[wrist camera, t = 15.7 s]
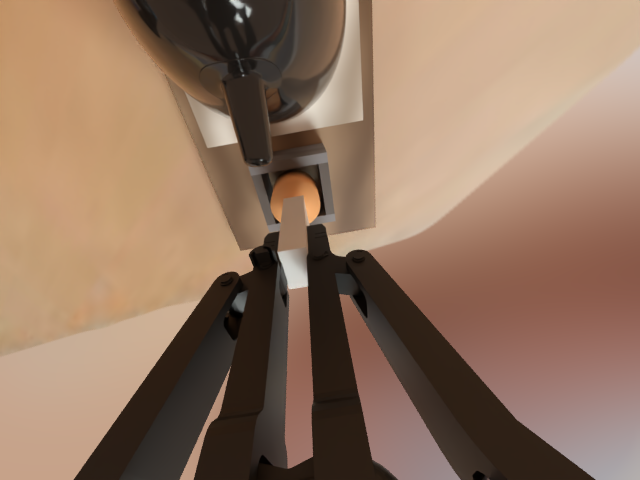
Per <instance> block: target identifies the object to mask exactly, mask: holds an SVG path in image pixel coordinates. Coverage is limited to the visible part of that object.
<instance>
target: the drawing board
mask: <svg viewBox="0 0 640 480" xmlns="http://www.w3.org/2000/svg"><path fill="white" fill-rule="evenodd" d="M165 75H166V74H165ZM166 78H167V80H168V82H169V85H170V87H171V89H172V92H173V94H174V96H175V99H176V101H177V103H178V106H179V108H180V110H181V113H182V115H183V117H184V120H185V122H186V124H187V127H188V129H189V131H190V134H191V136H192V138H193V141H194V143H195V145H196V148H197V150H198V152H199V155H200V157H201V159H202V162H203V164H204V166H205V169H206V171H207V173H208V176H209V178H210V180H211V183H212V185H213V187H214V190H215V192H216V194H217V197H218V199H219V201H220V204H221V206H222V208H223V211H224V213H225V215H226V218H227V220H228V222H229V225H230V227H231V229H232V232H233V234H234V236H235V239H236V241H237V243H238V246H239V248H240V250H247V249H253V248H256V247H259V246H262V245H263V244H264V238H265V237H266V236H267V234H268V233H272V232H278V231H280V225H281V223H280V222H279V221H278V220H277V219H276V218H275V217H274V215H273V213H272V211H271V206H270V203H271V197H272V192H273V187H274V183H275V181H276V179H277V178H278V177H279V176H280V175H281V174H282V173H284V172H286V171H289V170H301V171H304V172H306V173H308V174H309V175H310V176H311V177H312V178H313V179H314V181H315V182H316V185H317V189H318V194H319V199H320V211H319V214H318V215H317V217H316V218H315V219H314V221H312V222H311V223H310V224H309V225H316V224H323V225H324V226H325V227H326V232H327V236H328V235H334V234H340V233H345V232H351V231H357V230H363V229H368V228H374V227H376V218H375V157H374V96H373V35H372V0H346V27H345V36H344V42H343V47H342V52H341V56H340V59H339V62H338V65H337V68H336V71H335V73H334V75H333V78H332V80H331V82H330V83H329V85H328V87H327V88H326V90H325V91H324V93H323V94H322V96H321V97H320V98H319V99H318V100H317V101H316V103H315V104H314V105H312V106H311V107H310V108H309V109H308V110H307V111H305V112H304V113H302V114H301V115H299V116H297V117H295V118H293V119H291V120H289V121H286V122H282V123H278V124H272V125H270V132H271V141H272V150H273V160H272V162H271V163H270V164H269V165H267V166H263V167H249V166H247V165H246V164H245V163H244V162H243V159H242V155H241V152H240V148H239V145H238V142H237V138H236V135H235V131H234V128H233V124H232V121H231V119H228V118H226V117H223V116H221V115H219V114H217V113H215V112H213V111H212V110H210V109H208V108H206V107H205V106H203V105H202V104H200V103H199V102H197V101H196V100H195V99H193V98H192V97H191V96H190V95H188V94H187V93H186V92H185V91H184V90H182V89H181V88H180V87H179V86H178V85H177V84H176V83H175V82H173V81H172V80H171V79H170V78H169V77H168V76H167V75H166Z"/></svg>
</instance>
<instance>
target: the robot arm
mask: <svg viewBox="0 0 640 480" xmlns="http://www.w3.org/2000/svg"><path fill="white" fill-rule="evenodd" d="M249 257H250V259H251V262H252V264H253V266H254V268H253V271H251V272H249V273H247V274H244V275H242V276H239V274H238V273H236V272H227V273H225V274H222V275H221V276H219V277H218V278H217V279H216V280H215V281H214V283H213V284H212V285H211V287H210V288H209V290H208V291H207V292H206V294H205V295H204V297H203V298H202V299H201V301H200V302H199V304H198V305H197V306H196V308H195V309H194V311H193V312H192V314H191V315H190V316H189V318H188V319H187V321H186V322H185V323H184V325H183V326H182V328H181V329H180V331H179V332H178V333H177V335H176V336H175V338H174V339H173V341H172V342H171V343H170V345H169V346H168V347H167V349H166V350H165V352H164V353H163V354H162V356H161V357H160V359H159V360H158V361H157V363H156V364H155V366H154V367H153V369H152V370H151V371H150V373H149V374H148V376H147V377H146V379H145V380H144V381H143V383H142V384H141V386H140V387H139V388H138V390H137V391H136V393H135V394H134V395H133V397H132V398H131V400H130V401H129V402H128V404H127V405H126V407H125V408H124V409H123V411H122V412H121V414H120V415H119V417H118V418H117V420H116V421H115V422H114V424H113V425H112V427H111V428H110V429H109V431H108V432H107V434H106V435H105V436H104V438H103V439H102V441H101V442H100V443H99V445H98V446H97V448H96V449H95V450H94V452H93V453H92V455H91V456H90V457H89V459H88V460H87V462H86V463H85V464H84V466H83V467H82V469H81V471H80V472H79V473H78V474H77V476H76V477H75V479H74V480H179V479H180V477H181V475H182V473H183V471H184V468H185V466H186V464H187V462H188V459H189V457H190V455H191V453H192V450H193V448H194V446H195V444H196V442H197V439H198V437H199V435H200V433H201V431H202V428H203V426H204V424H205V422H206V420H207V417H208V415H209V413H210V410H211V409H212V406H213V404H214V402H215V400H216V397H217V395H218V393H219V391H220V388H221V386H222V384H223V382H224V380H225V377H226V375H227V373H228V371H229V369H230V373H229V378H228V382H227V386H226V391H225V395H224V400H223V404H222V408H221V411H220V414H219V416H218V418H217V419H215V420H214V421H213V422H211V424H210V425H209V427H208V429H207V432H206V435H205V438H204V442H203V446H202V449H201V454H200V457H199V461H198V465H197V469H196V473H195V477H194V480H397V478H396V477H395V476H393V475H392V474H391V473H390V472H389V471H388V470H387V469H386V468H384V467H383V466H382V465H380V464H379V463H377V462H375V461H373V460H372V457H371V452H370V447H369V442H368V437H367V432H366V427H365V422H364V417H363V412H362V407H361V402H360V398H359V394H358V389H357V384H356V379H355V374H354V369H353V364H352V358H351V354H350V348H349V343H348V338H347V333H346V328H345V323H344V317H343V312H342V307H341V302H340V297H339V294H345V295H350V298H351V299H352V301H353V303H354V305H355V306H356V308H357V310H358V311H359V313H360V315H361V316H362V318H363V320H364V321H365V323H366V325H367V326H368V328H369V330H370V332H371V333H372V335H373V337H374V338H375V340H376V342H377V343H378V345H379V347H380V348H381V350H382V351H383V353H384V355H385V357H386V358H387V360H388V362H389V364H390V365H391V367H392V368H393V370H394V372H395V374H396V375H397V377H398V379H399V380H400V382H401V384H402V385H403V387H404V389H405V390H406V392H407V394H408V396H409V397H410V399H411V400H412V402H413V404H414V406H415V407H416V409H417V411H418V412H419V414H420V416H421V417H422V419H423V421H424V422H425V424H426V426H427V428H428V429H429V431H430V433H431V434H432V436H433V438H434V439H435V441H436V443H437V444H438V446H439V448H440V450H441V451H442V453H443V454H444V455H445V457H446V459H447V460H448V462H449V463H450V465H451V466H452V468H453V469H454V471H455V472H456V474H457V475H458V476H459V478H460V479H461V480H595V479H594V478H592V477H591V476H590V475H589V474H587V473H586V472H585V471H583V470H582V469H581V468H579V467H578V466H577V465H576V464H574V463H573V462H572V461H570V460H569V459H568V458H566V457H565V456H564V455H562V454H561V453H560V452H558V451H557V450H556V449H554V448H553V447H552V446H550V445H549V444H548V443H546V442H545V441H544V440H542V439H541V438H540V437H538V436H537V435H536V434H535V433H533V432H532V431H531V430H529V429H528V428H527V427H525V426H524V425H522V424H521V423H520V422H519V421H517V420H516V419H515V417H514V416H513V415H512V414H511V413H510V412H509V411H508V409H507V408H506V407H505V406H504V405H503V404H502V403H501V402H500V400H499V399H498V398H497V397H496V396H495V395H494V394H493V392H492V391H491V390H490V389H489V388H488V387H487V386H486V384H484V382H483V381H482V380H481V379H480V378H479V377H478V375H476V373H475V372H474V371H473V370H472V369H471V367H470V366H469V365H468V364H467V363H466V362H465V361H464V359H462V357H461V356H460V355H459V354H458V353H457V352H456V350H455V349H454V348H453V347H452V346H451V345H450V344H449V342H448V341H447V340H446V339H445V338H444V337H443V336H442V334H441V333H440V332H439V331H438V330H437V329H436V328H435V327H434V325H433V324H432V323H431V322H430V321H429V320H428V319H427V317H426V316H425V315H424V314H423V313H422V312H421V311H420V310H419V308H418V307H417V306H416V305H415V304H414V303H413V302H412V300H411V299H410V298H409V297H408V296H407V295H406V294H405V293H404V291H403V290H402V289H401V288H400V287H399V286H398V285H397V283H396V282H395V281H394V280H393V279H392V278H391V277H390V275H389V274H388V273H387V272H386V271H385V270H384V269H383V268H382V266H381V265H380V264H379V263H378V262H377V261H376V260H375V259H374V257H373V256H372V255H371V254H370V253H369V252H367V251H365V250H354V251H351V252H349V253H348V254H347V255H346V257H341V256H336V255H334V254H333V253H332V252H331V251H330V247H329V242H328V237H327V232H326V227H325V226H324V225H323V224H316V225H309V220H308V215H307V211H306V206H305V201H304V196H303V195H302V196H296V197H291V198H285V199H283V207H282V216H281V225H280V231H278V232H272V233H268V234H267V236H266V237H265V238H264V244H263V245H262V246H259V247H256V248H255V249H253V250H252V251H251V252H250V254H249ZM287 284H288V287H289V289H294V288H300V287H306V286H308V296H309V316H310V336H311V353H312V354H311V355H312V376H313V396H314V400H313V405H312V437H313V457H312V458H310V459H308V460H306V461H304V462H302V463H300V464H298V465H296V466H294V467H292V468H290V469H287V451H286V445H285V408H286V406H285V405H286V377H287V345H288V344H287V343H288V312H289V294H288V291H287ZM230 366H231V368H230Z"/></svg>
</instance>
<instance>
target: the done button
mask: <svg viewBox="0 0 640 480" xmlns="http://www.w3.org/2000/svg"><path fill="white" fill-rule="evenodd" d="M302 195H303V196H304V201H305V206H306V211H307V215H308V220H309V224H310V223H311V222H312V221H314V219H315V218H316V217H317V215H318V214H319V211H320V199H319V194H318V189H317V185H316V182H315V181H314V179H313V178H312V177H311V176H310V175H309V174H308V173H306V172H304V171H301V170H289V171H286V172H284V173H282V174H281V175H280V176H279V177H278V178H277V179H276V181H275V183H274V187H273V192H272V197H271V203H270V206H271V211H272V213H273V215H274V217H275V218H276V219H277V220H278V221H279V222H280V223H281V216H282V207H283V199H285V198H291V197H296V196H302Z"/></svg>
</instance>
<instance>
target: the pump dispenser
mask: <svg viewBox="0 0 640 480" xmlns="http://www.w3.org/2000/svg"><path fill="white" fill-rule="evenodd" d="M113 2H114V4H115V5H116V7H117V9H118V11H119V13H120V14H121V16H122V18H123V19H124V21H125V23H126V24H127V26H128V27H129V29H130V30H131V32H132V33H133V35H134V36H135V38H136V39H137V40H138V42H139V43H140V45H141V46H142V47H143V49H144V50H145V51H146V52H147V54H148V55H149V56H150V57H151V59H152V60H153V61H154V62H155V63H156V64H157V65H158V66H159V68H160V69H161V70H162V71H163V72H164V73H165V74H166V75H167V76H168V77H169V78H170V79H171V80H172V81H173V82H175V83H176V84H177V85H178V86H179V87H180V88H181V89H182V90H184V91H185V92H186V93H187V94H188V95H190V96H191V97H192V98H193V99H195V100H196V101H197V102H199V103H200V104H202V105H203V106H205V107H206V108H208V109H210V110H212V111H213V112H215V113H217V114H219V115H221V116H223V117H226V118H228V119H231V121H232V124H233V128H234V131H235V135H236V138H237V142H238V145H239V148H240V152H241V155H242V159H243V162H244V163H245V164H246V165H247V166H249V167H263V166H267V165H269V164H270V163H271V162H272V160H273V150H272V141H271V132H270V125H272V124H278V123H282V122H286V121H289V120H291V119H293V118H295V117H297V116H299V115H301V114H302V113H304V112H305V111H307V110H308V109H309V108H310V107H311V106H312V105H314V104H315V103H316V101H317V100H318V99H319V98H320V97H321V96H322V94H323V93H324V91H325V90H326V88H327V87H328V85H329V83H330V82H331V80H332V78H333V75H334V73H335V71H336V68H337V65H338V62H339V59H340V56H341V52H342V47H343V42H344V36H345V27H346V0H113Z"/></svg>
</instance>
